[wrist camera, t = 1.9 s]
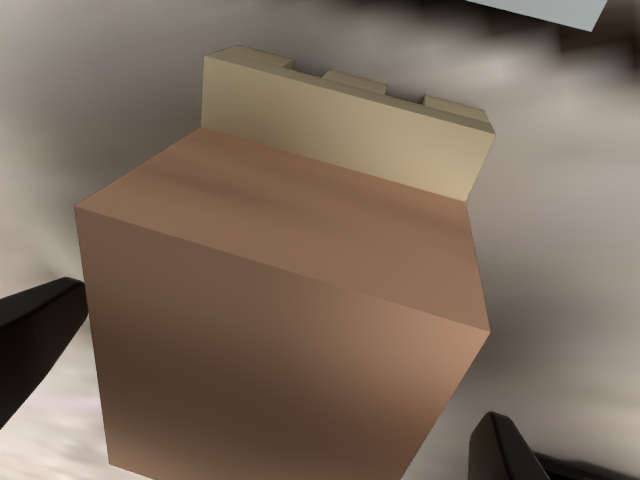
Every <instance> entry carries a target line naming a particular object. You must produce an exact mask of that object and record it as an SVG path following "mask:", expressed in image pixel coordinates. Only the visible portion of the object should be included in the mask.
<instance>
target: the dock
mask: <svg viewBox="0 0 640 480" xmlns="http://www.w3.org/2000/svg"><path fill="white" fill-rule="evenodd" d="M467 1H471V2H475V3H479V4H483V5H487V6H491V7H495V8H499V9H503V10H507V11H511V12H515V13H519V14H523V15H527V16H531V17H535V18H539V19H543V20H547V21H551V22H555V23H559V24H563V25H567V26H571V27H575V28H579V29H583V30H587V31H592V29H593V27H594V25H595V23H596V21H597V20H598V18H599V16H600V14H601V12H602V10H603V8H604V6H605V4H606V2H607V0H467Z"/></svg>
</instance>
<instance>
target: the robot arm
mask: <svg viewBox="0 0 640 480" xmlns="http://www.w3.org/2000/svg"><path fill="white" fill-rule="evenodd" d="M88 313H89V312H88V304H87V297H86V290H85V283H84V282H82V281H80V280H77V279H73V278H70V277H63V278H60V279H57V280H54V281H51V282H48V283H45V284H42V285H39V286H36V287H34V288H31V289H28V290H25V291H22V292H19V293H16V294H13V295H10V296H7V297H5V298H2V299H0V430H1V429H2V427H3V426H4V425H5V424H6V423H7V421H8V420H9V419H10V418H11V417H12V416H13V414H14V413H15V412H16V411H17V410H18V409H19V407H20V406H21V405H22V404H23V403H24V402H25V400H26V399H27V398H28V397H29V396H30V395H31V393H32V392H33V391H34V390H35V389H36V388H37V386H38V385H39V384H40V383H41V382H42V380H43V379H44V378H45V377H46V375H47V374H48V373H49V371H50V370H51V368H52V367H53V366H54V364H55V363H56V361H57V360H58V359H59V357H60V356H61V354H62V353H63V351H64V350H65V348H66V347H67V346H68V344H69V343H70V341H71V340H72V338H73V337H74V336H75V334H76V333H77V331H78V330H79V328H80V327H81V326H82V324H83V323H84V321H85V320H86V318H87V316H88ZM468 480H607V479H604V478H601V477H597V476H594V475H591V474H588V473H585V472H582V471H579V470H576V469H573V468H569V467H566V466H563V465H560V464H557V463H554V462H551V461H548V460H545V459H541V458H538V457H535V455H534V454H533V452H532V451H531V449H530V448H529V446H528V445H527V443H526V441H525V440H524V438H523V437H522V435H521V434H520V432H519V431H518V429H517V428H516V426H515V424H514V423H513V421H512V420H511V419H510V418H509V417H507V416H505V415H502V414H499V413H496V412H493V411H489V412H487V413H486V414H485V415H484V417H483V418H482V419H481V421H480V422H479V424H478V425H477V427H476V428H475V429H474V431H473V432H472V435H471V437H470V442H469V461H468Z"/></svg>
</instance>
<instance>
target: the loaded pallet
mask: <svg viewBox="0 0 640 480" xmlns="http://www.w3.org/2000/svg"><path fill="white" fill-rule="evenodd" d="M293 64H294V59H290V58H286V57H282V56H279V55H275V54H271V53H267V52H264V51H260V50H256V49H252V48H249V47H245V46H241V45H237V46H233V47H230V48H227V49H224V50H221V51H217V52H214V53H211V54H208V55H205V56H204V66H203V87H202V107H201V127H200V128H198V129H196V130H195V131H193V132H192V133H190V134H188V135H187V136H185V137H184V138H182V139H180V140H179V141H177V142H176V143H174V144H172V145H171V146H169V147H168V148H166V149H164V150H163V151H161V152H160V153H158V154H156V155H155V156H153V157H152V158H150V159H148V160H147V161H145V162H144V163H142V164H140V165H139V166H137V167H136V168H134V169H133V170H131V171H129V172H128V173H126V174H125V175H123V176H121V177H120V178H118V179H117V180H115V181H113V182H112V183H110V184H109V185H107V186H105V187H104V188H102V189H101V190H99V191H97V192H96V193H94V194H93V195H91V196H89V197H88V198H86V199H85V200H83V201H81V202H80V203H78V204H77V205H75V206H74V209H75V217H76V224H77V231H78V238H79V246H80V253H81V260H82V268H83V275H84V282H85V290H86V297H87V304H88V312H89V319H90V326H91V334H92V341H93V348H94V356H95V363H96V370H97V378H98V385H99V392H100V400H101V407H102V414H103V422H104V429H105V436H106V444H107V451H108V458H109V464H111V465H113V466H116V467H119V468H122V469H125V470H128V471H131V472H134V473H137V474H139V475H142V476H145V477H148V478H151V479H154V480H400V479H401V478H402V476H403V475H404V473H405V471H406V470H407V468H408V466H409V465H410V463H411V461H412V460H413V458H414V457H415V455H416V453H417V452H418V450H419V448H420V447H421V445H422V444H423V442H424V440H425V439H426V437H427V435H428V434H429V432H430V430H431V429H432V427H433V426H434V424H435V422H436V421H437V419H438V417H439V416H440V414H441V412H442V411H443V409H444V408H445V406H446V404H447V403H448V401H449V399H450V398H451V396H452V395H453V393H454V391H455V390H456V388H457V386H458V385H459V383H460V381H461V380H462V378H463V377H464V375H465V373H466V372H467V370H468V368H469V367H470V365H471V364H472V362H473V360H474V359H475V357H476V355H477V354H478V352H479V350H480V349H481V347H482V346H483V344H484V342H485V341H486V339H487V337H488V336H489V334H490V333H491V331H490V326H489V321H488V316H487V311H486V306H485V300H484V295H483V290H482V285H481V280H480V274H479V269H478V264H477V259H476V254H475V248H474V243H473V238H472V233H471V228H470V222H469V217H468V212H467V207H466V200H467V198H468V195H469V193H470V191H471V189H472V187H473V184H474V182H475V180H476V178H477V176H478V173H479V171H480V169H481V167H482V165H483V162H484V160H485V158H486V156H487V154H488V151H489V149H490V147H491V145H492V143H493V140H494V138H495V136H496V133H495V131H494V129H493V127H492V125H491V123H490V121H489V119H488V117H487V115H486V113H485V111H484V110H481V109H477V108H473V107H470V106H466V105H462V104H458V103H455V102H451V101H447V100H443V99H440V98H436V97H432V96H428V95H425V97H424V100H423V103H422V105H420V104H417V103H413V102H409V101H406V100H402V99H398V98H394V97H391V96H387V95H385V93H386V89H387V86H388V85H387V84H383V83H380V82H376V81H372V80H368V79H365V78H361V77H357V76H353V75H350V74H346V73H342V72H338V71H335V70H331V69H330V70H329V71H328V72H327V73H326V74H325V75H324V76H322V77H321V78H320V77H316V76H313V75H309V74H305V73H301V72H298V71H294V70H293Z"/></svg>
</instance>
